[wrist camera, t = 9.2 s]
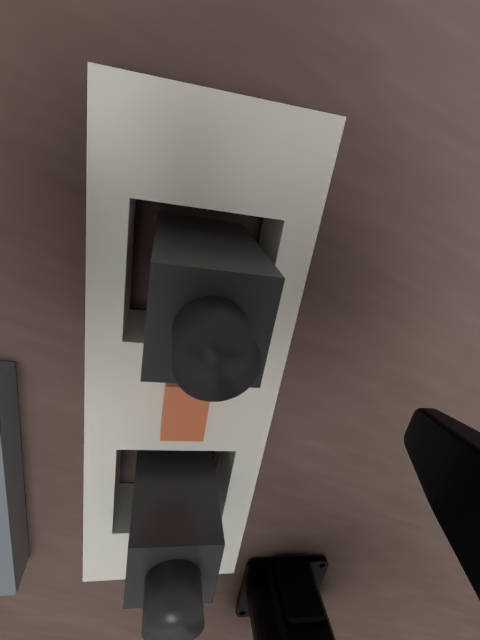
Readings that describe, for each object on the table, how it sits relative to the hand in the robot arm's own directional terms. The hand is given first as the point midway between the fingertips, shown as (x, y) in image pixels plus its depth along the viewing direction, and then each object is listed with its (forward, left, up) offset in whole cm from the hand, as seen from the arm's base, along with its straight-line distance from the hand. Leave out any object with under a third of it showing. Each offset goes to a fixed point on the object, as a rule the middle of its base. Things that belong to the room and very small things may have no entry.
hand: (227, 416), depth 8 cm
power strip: (-6, 0, -12) cm, 14 cm away
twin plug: (-12, 0, -12) cm, 17 cm away
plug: (0, 0, -12) cm, 12 cm away
